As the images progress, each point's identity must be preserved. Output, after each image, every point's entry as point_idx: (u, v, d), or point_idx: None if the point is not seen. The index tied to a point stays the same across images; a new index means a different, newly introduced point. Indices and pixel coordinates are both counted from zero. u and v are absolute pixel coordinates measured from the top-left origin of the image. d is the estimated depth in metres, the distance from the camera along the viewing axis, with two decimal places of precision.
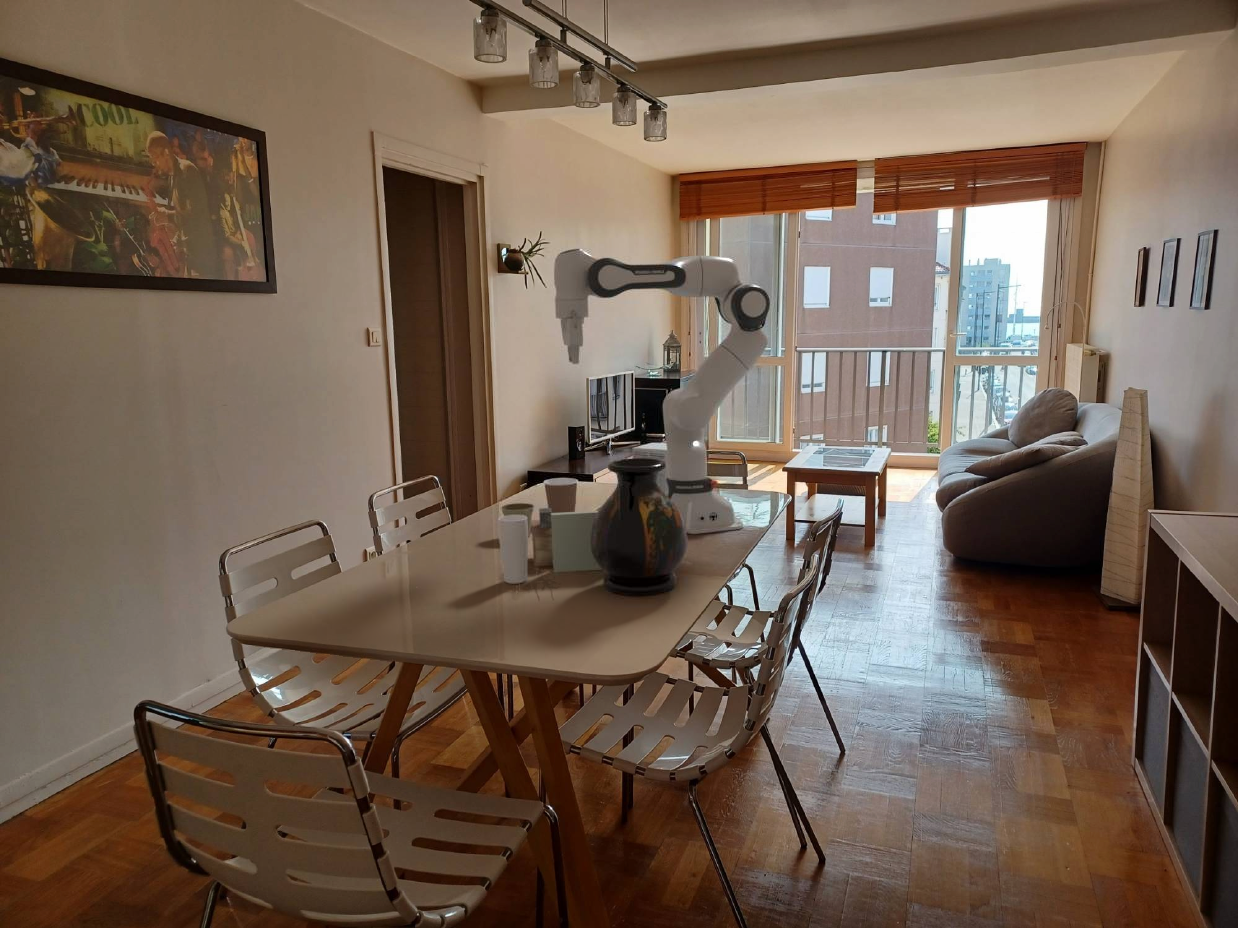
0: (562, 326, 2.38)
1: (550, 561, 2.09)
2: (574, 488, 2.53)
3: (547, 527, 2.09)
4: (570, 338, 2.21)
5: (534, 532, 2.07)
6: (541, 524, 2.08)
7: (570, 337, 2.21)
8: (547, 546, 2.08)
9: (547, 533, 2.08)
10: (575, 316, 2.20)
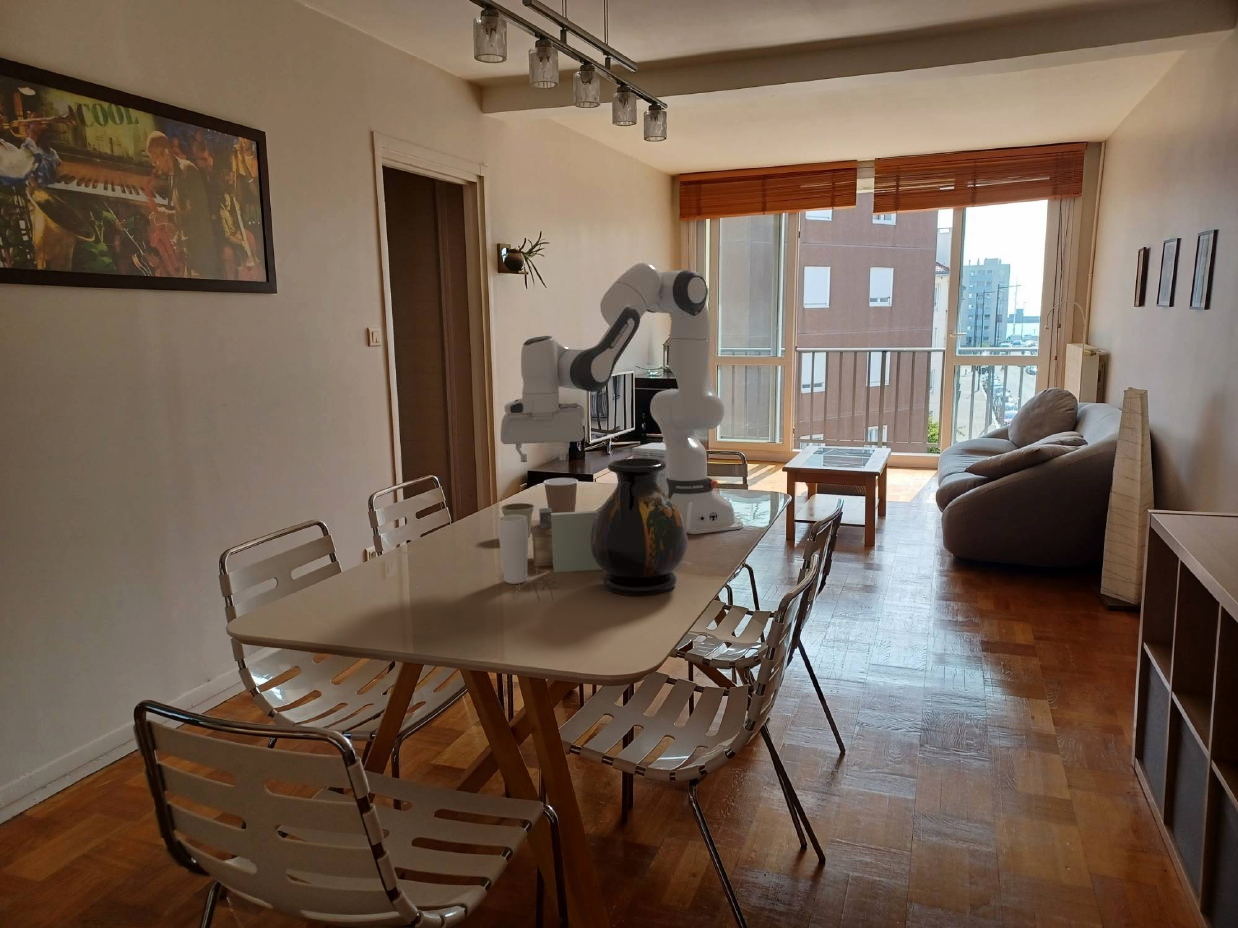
0: (508, 422, 2.04)
1: (550, 561, 2.09)
2: (574, 488, 2.53)
3: (547, 527, 2.09)
4: (583, 432, 2.07)
5: (534, 532, 2.07)
6: (541, 524, 2.08)
7: (583, 431, 2.07)
8: (547, 546, 2.08)
9: (547, 533, 2.08)
10: None
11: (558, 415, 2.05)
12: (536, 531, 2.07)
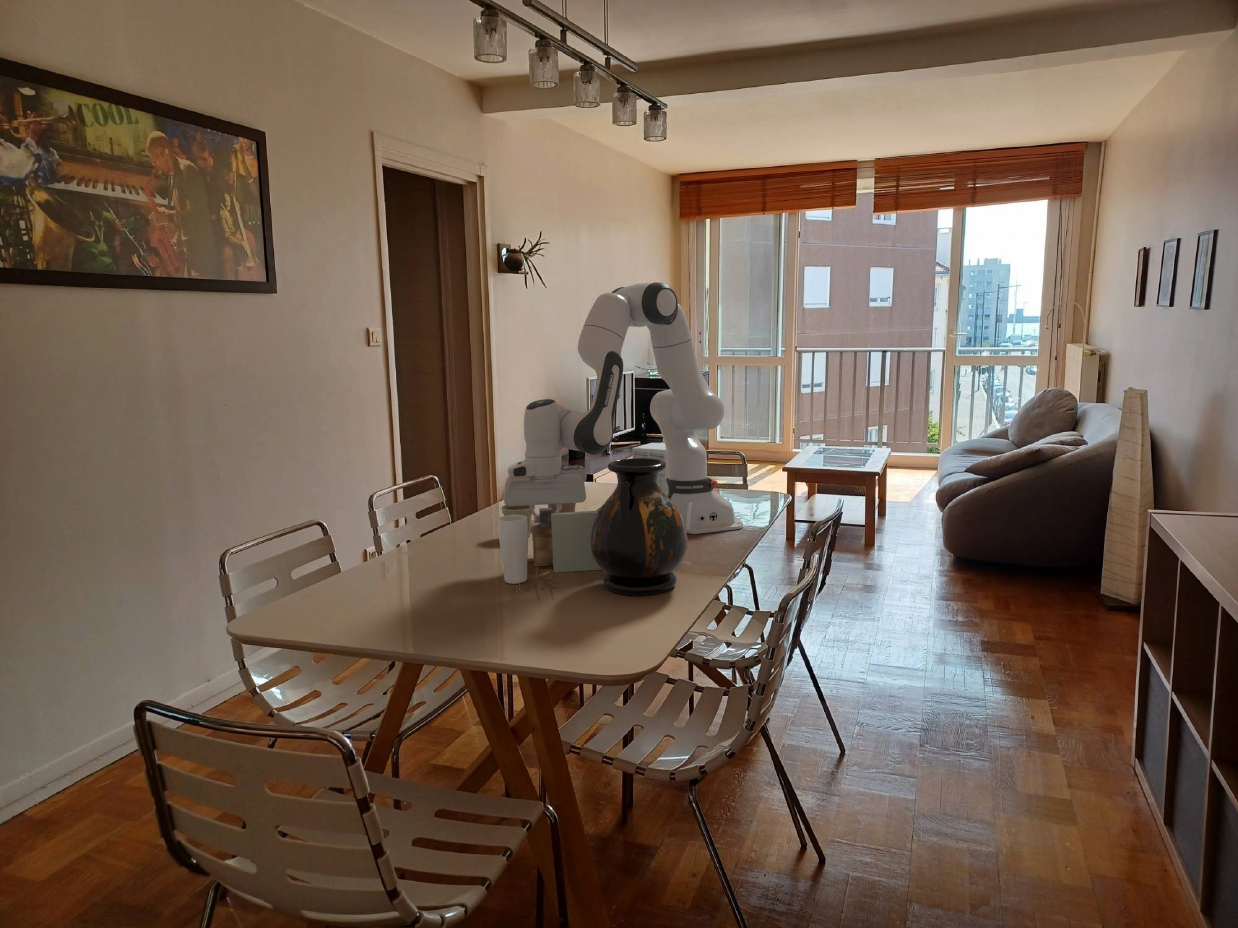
0: (511, 485, 2.06)
1: (550, 561, 2.09)
2: None
3: (547, 527, 2.09)
4: (585, 493, 2.09)
5: (534, 532, 2.07)
6: (541, 524, 2.08)
7: (585, 492, 2.09)
8: (547, 545, 2.08)
9: (547, 533, 2.08)
10: (585, 470, 2.10)
11: (561, 477, 2.08)
12: (536, 531, 2.07)
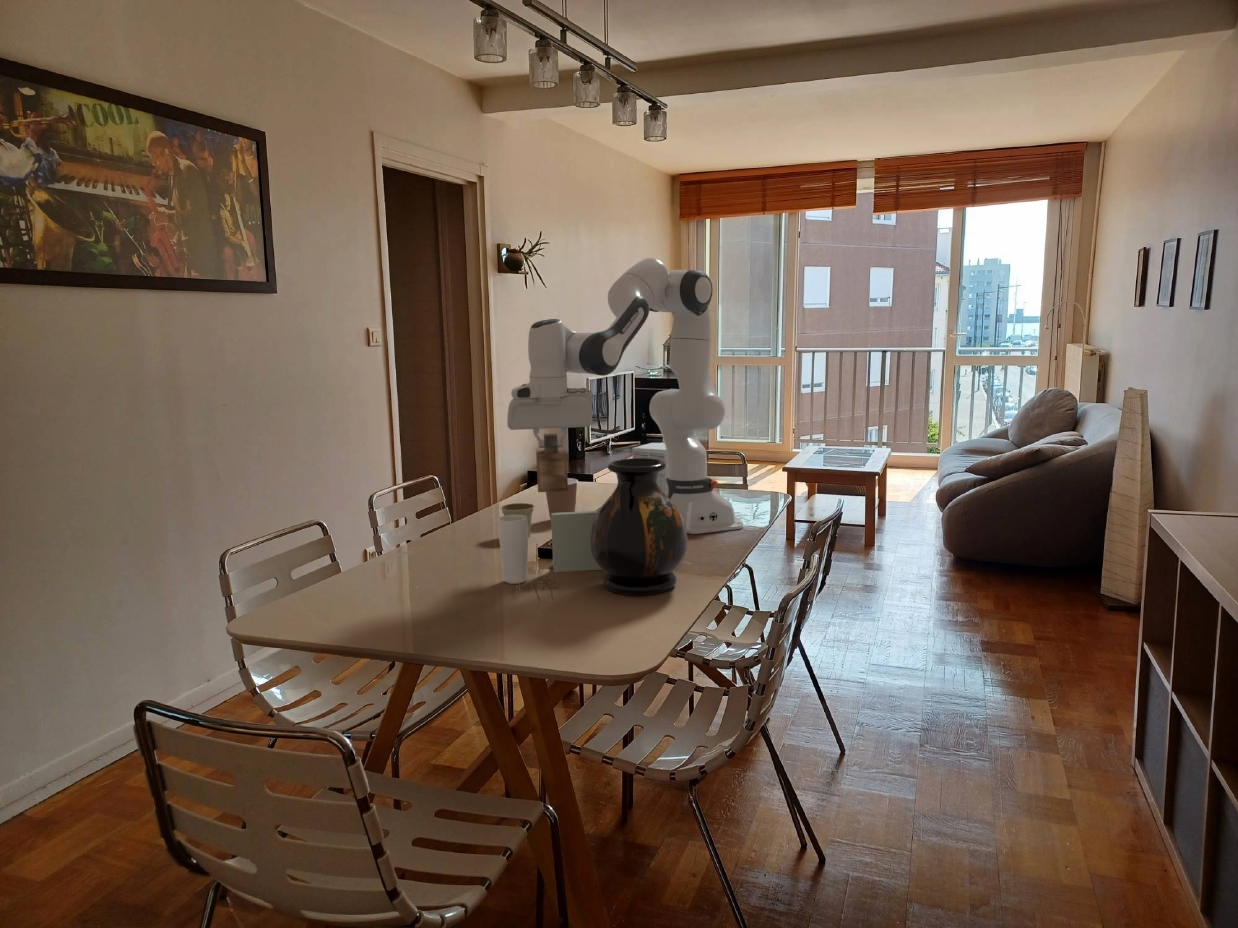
0: (515, 407, 1.99)
1: (554, 487, 2.01)
2: (574, 488, 2.53)
3: (552, 452, 2.02)
4: (591, 417, 2.02)
5: (538, 456, 2.00)
6: (546, 448, 2.01)
7: (591, 416, 2.02)
8: (552, 471, 2.01)
9: (552, 458, 2.00)
10: (591, 393, 2.03)
11: (566, 400, 2.01)
12: (540, 455, 2.00)
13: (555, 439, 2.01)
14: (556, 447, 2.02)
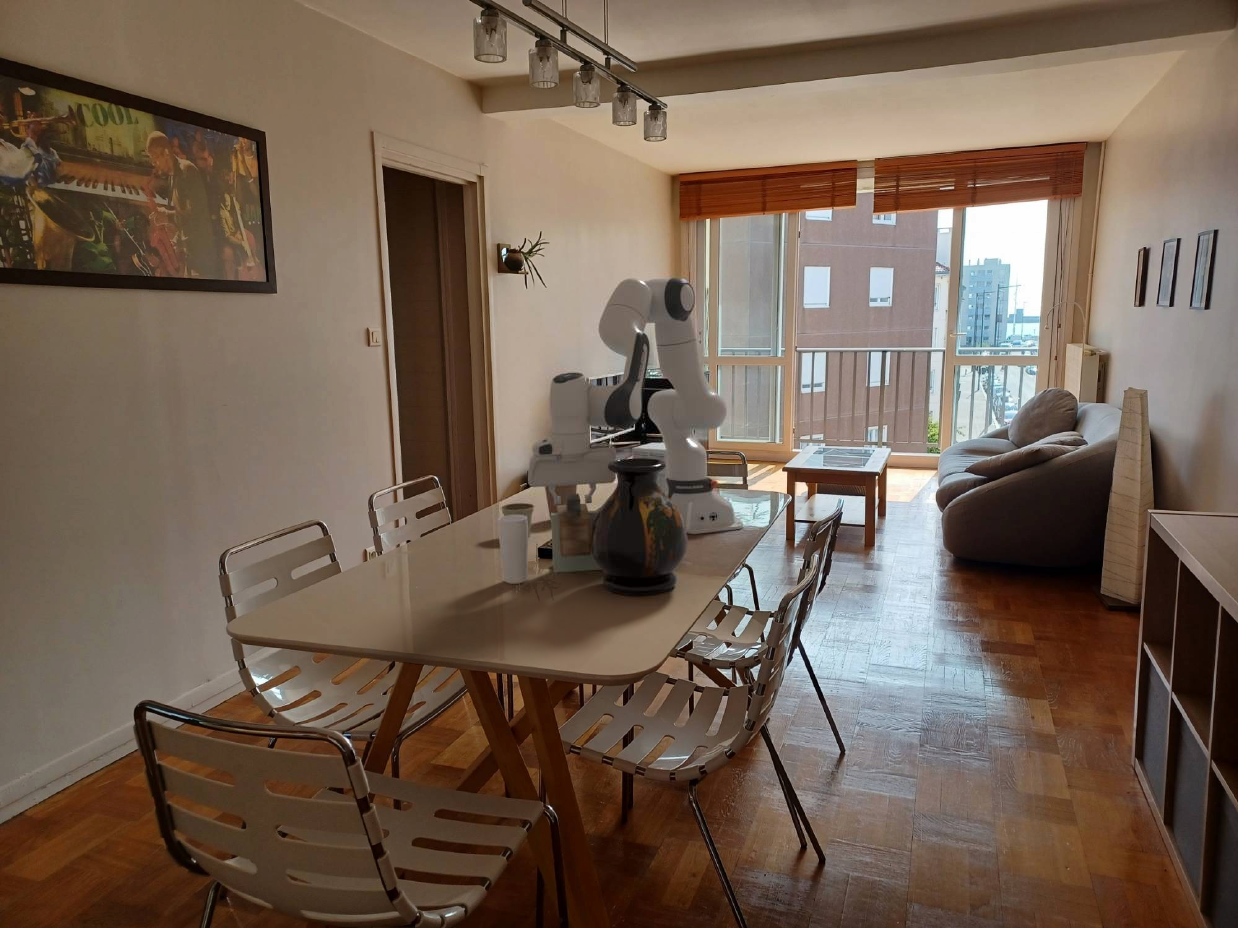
0: (536, 464, 1.93)
1: (577, 551, 1.96)
2: (574, 488, 2.53)
3: (575, 515, 1.96)
4: (615, 473, 1.96)
5: (561, 521, 1.94)
6: (568, 512, 1.95)
7: None
8: (575, 535, 1.95)
9: (575, 522, 1.95)
10: (614, 448, 1.97)
11: (589, 456, 1.95)
12: (563, 520, 1.94)
13: (578, 503, 1.95)
14: (579, 511, 1.96)
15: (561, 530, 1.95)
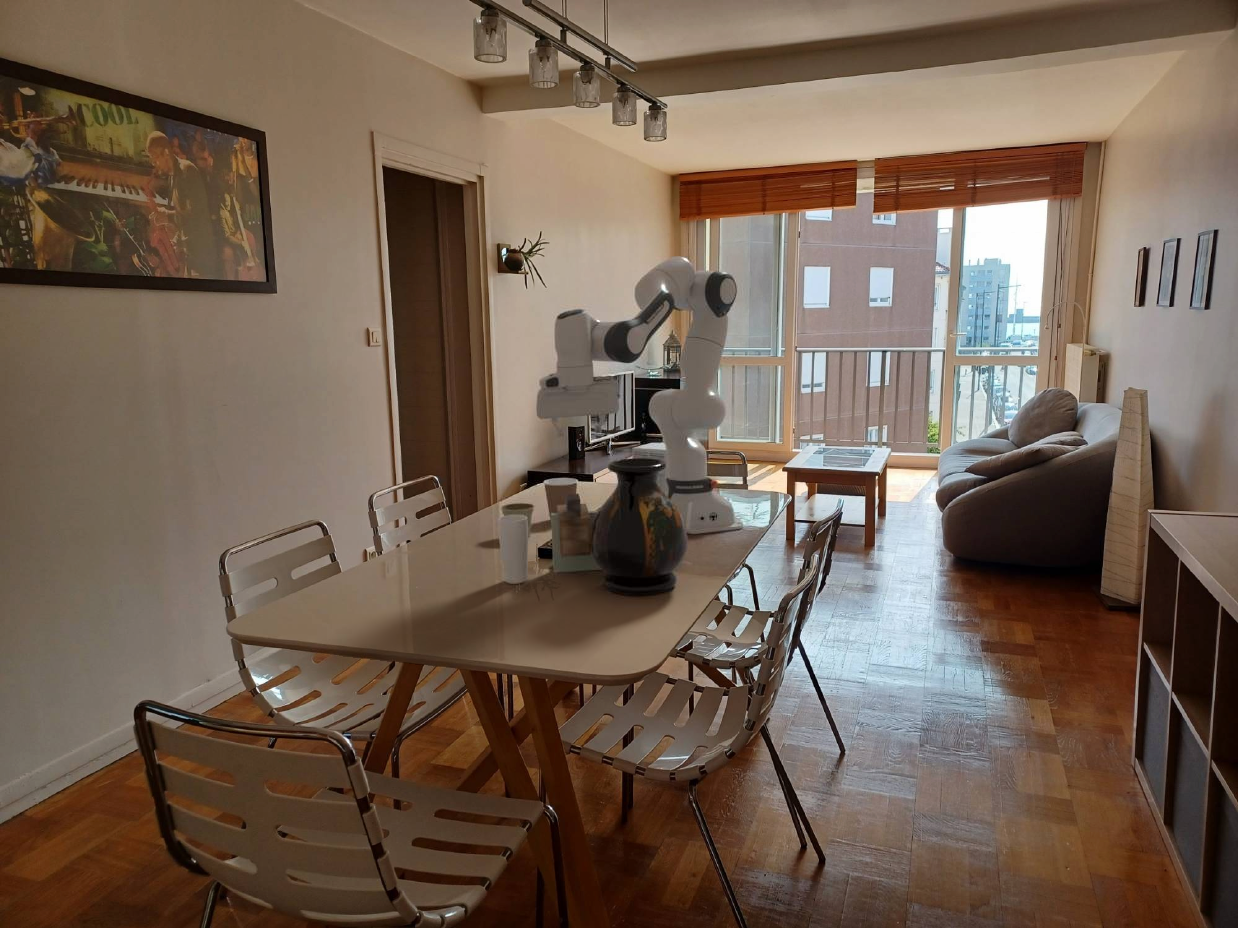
0: (544, 397, 2.05)
1: (577, 551, 1.96)
2: (574, 488, 2.53)
3: (575, 515, 1.96)
4: (618, 404, 2.08)
5: (561, 521, 1.94)
6: (568, 512, 1.95)
7: (618, 403, 2.08)
8: (575, 535, 1.95)
9: (575, 522, 1.95)
10: None
11: (593, 388, 2.06)
12: (563, 520, 1.94)
13: (578, 503, 1.95)
14: (579, 511, 1.96)
15: (561, 530, 1.95)
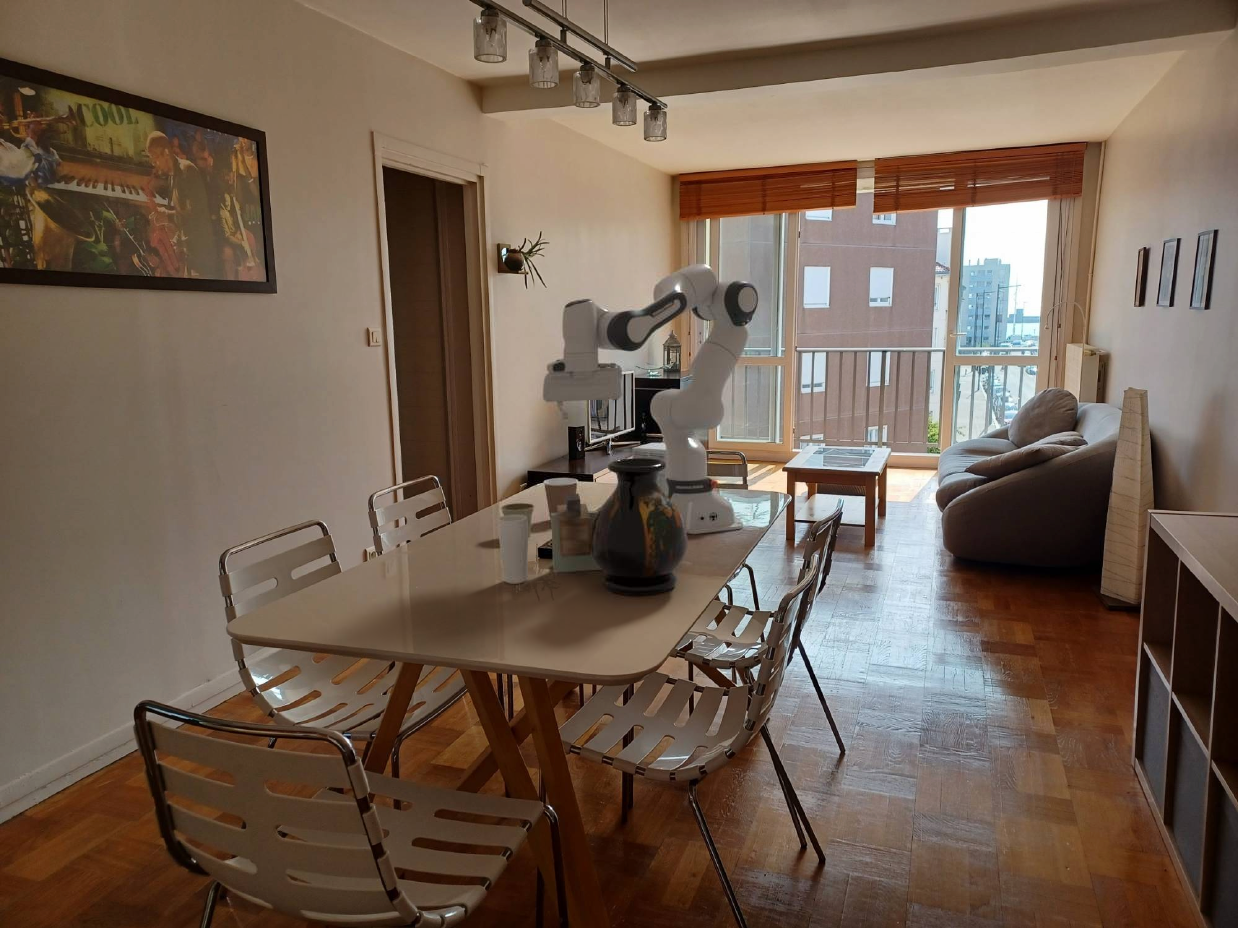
0: (550, 381, 2.15)
1: (577, 551, 1.96)
2: (574, 488, 2.53)
3: (575, 515, 1.96)
4: None
5: (561, 521, 1.94)
6: (568, 512, 1.95)
7: None
8: (575, 535, 1.95)
9: (575, 522, 1.95)
10: (620, 368, 2.19)
11: (597, 374, 2.17)
12: (563, 520, 1.94)
13: (578, 503, 1.95)
14: (579, 511, 1.96)
15: (561, 530, 1.95)
